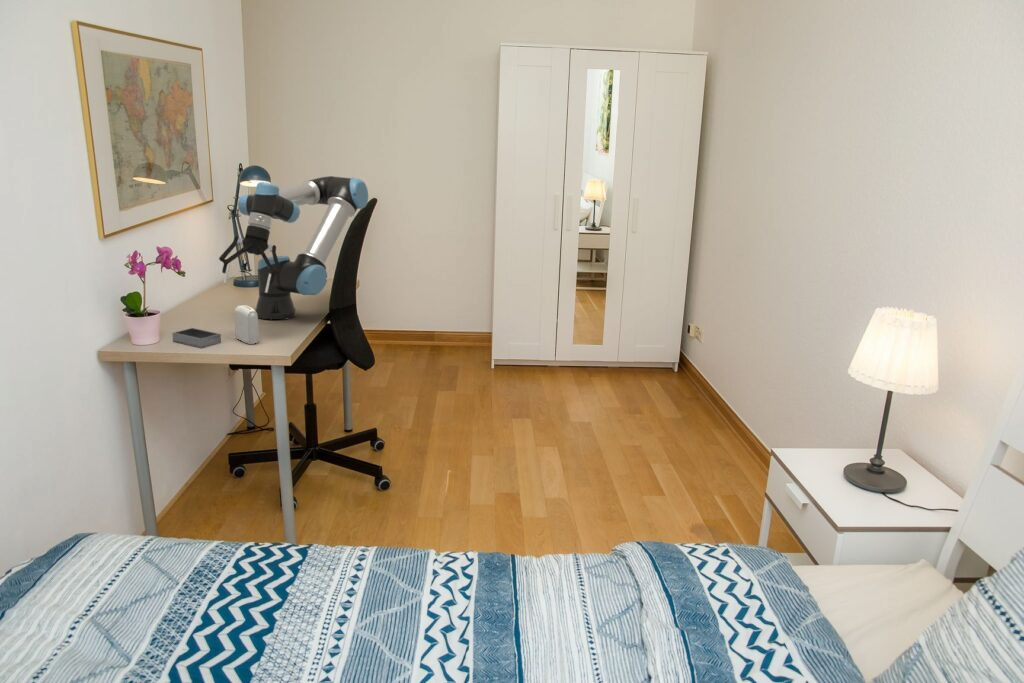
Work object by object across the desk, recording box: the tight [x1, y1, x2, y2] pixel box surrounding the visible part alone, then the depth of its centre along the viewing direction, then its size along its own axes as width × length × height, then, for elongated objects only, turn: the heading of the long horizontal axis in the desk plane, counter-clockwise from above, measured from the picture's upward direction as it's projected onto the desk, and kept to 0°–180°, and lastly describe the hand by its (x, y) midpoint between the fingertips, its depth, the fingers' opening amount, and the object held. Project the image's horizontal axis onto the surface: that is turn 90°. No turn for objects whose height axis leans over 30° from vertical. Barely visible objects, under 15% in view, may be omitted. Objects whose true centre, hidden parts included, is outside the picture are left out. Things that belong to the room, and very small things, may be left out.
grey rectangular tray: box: [172, 327, 222, 349], centre depth 246 cm, size 8×13×3 cm, turn 64°
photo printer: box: [234, 304, 260, 345], centre depth 249 cm, size 10×4×12 cm, turn 47°
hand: (245, 288), depth 250 cm, fingers open, 13 cm apart
